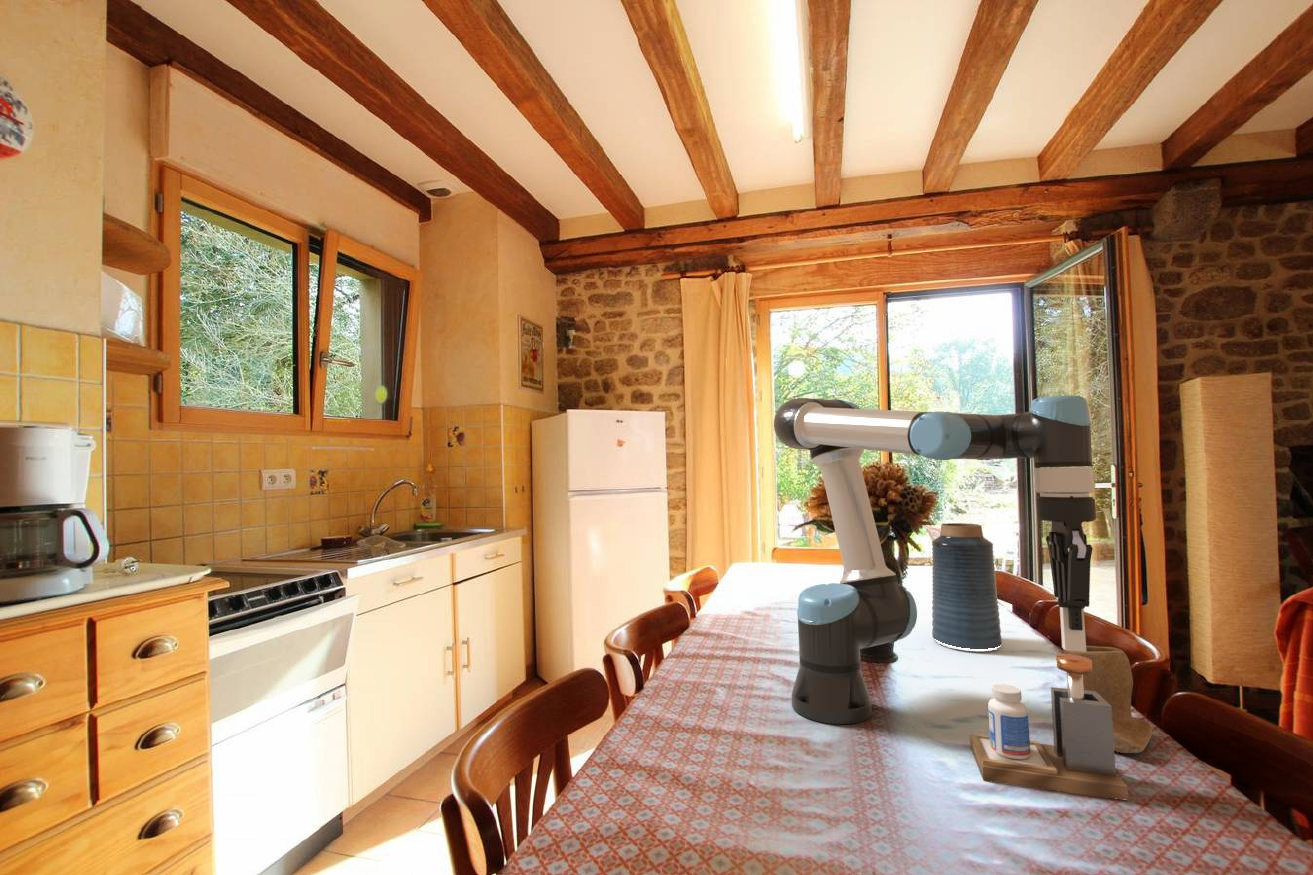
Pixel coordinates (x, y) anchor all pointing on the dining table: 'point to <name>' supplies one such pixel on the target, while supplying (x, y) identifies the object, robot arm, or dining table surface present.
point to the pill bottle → (1008, 722)
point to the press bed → (1042, 771)
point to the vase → (964, 588)
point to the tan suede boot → (1116, 695)
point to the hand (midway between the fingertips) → (1074, 649)
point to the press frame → (1083, 732)
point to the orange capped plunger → (1074, 673)
